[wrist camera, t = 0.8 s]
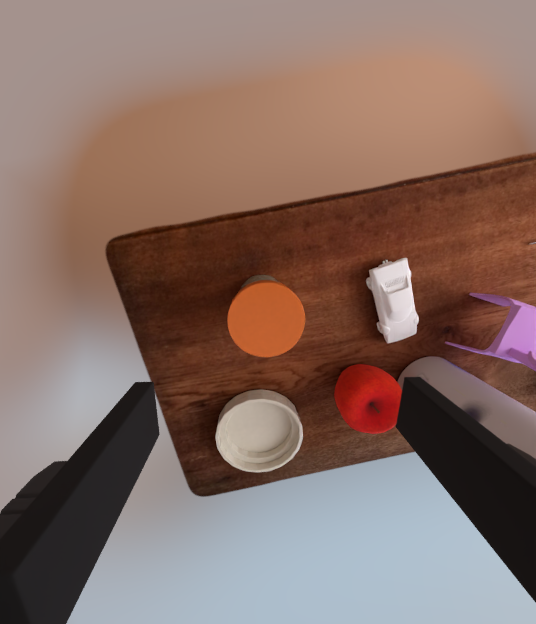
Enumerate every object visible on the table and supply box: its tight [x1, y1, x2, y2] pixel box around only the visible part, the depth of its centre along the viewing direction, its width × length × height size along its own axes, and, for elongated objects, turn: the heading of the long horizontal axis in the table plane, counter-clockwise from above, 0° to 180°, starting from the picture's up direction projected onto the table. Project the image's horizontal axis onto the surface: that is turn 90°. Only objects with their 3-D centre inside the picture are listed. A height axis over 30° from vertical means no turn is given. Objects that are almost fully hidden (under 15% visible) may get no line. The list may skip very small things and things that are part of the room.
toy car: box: [366, 258, 419, 343], centre depth 34 cm, size 6×12×3 cm, turn 19°
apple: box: [334, 364, 402, 434], centre depth 35 cm, size 9×9×8 cm
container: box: [397, 356, 536, 459], centre depth 30 cm, size 10×10×20 cm
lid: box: [227, 280, 305, 357], centre depth 25 cm, size 8×8×2 cm
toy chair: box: [445, 293, 536, 371], centre depth 30 cm, size 8×9×15 cm
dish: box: [215, 389, 303, 472], centre depth 38 cm, size 13×13×3 cm
